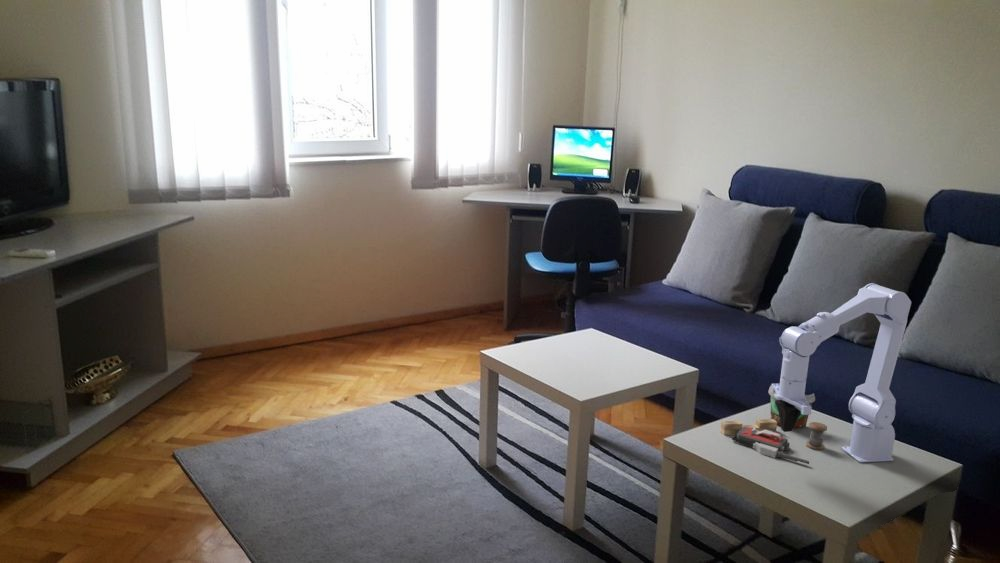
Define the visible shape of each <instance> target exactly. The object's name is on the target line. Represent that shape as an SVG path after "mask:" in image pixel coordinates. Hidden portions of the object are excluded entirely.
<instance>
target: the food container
mask: <svg viewBox="0 0 1000 563" xmlns="http://www.w3.org/2000/svg"><path fill="white" fill-rule="evenodd" d="M772 384H773V383H771V384H770V386H769V389H768V394H769V396H770V419H774V420H775V421H776V422H777V427H779V428H781V424H780V416H779V412H778V409H777V406H776V404H775V401H776V400H778V399H776V398H775V397H774V394H776V392H772V391H771V388H772ZM804 396H805V398H806V400H807V402H808V404H809V405H810V406H811V407H812V403H814V402H815V401H816V395H815V393H811V394H804ZM809 416H810V415H803V414H801V415H800V416H799V417H798V419H797V421H796V423H795V425H794V428H793V430H802V429H804V428H806V427H807V423H808V419H809Z"/></svg>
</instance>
